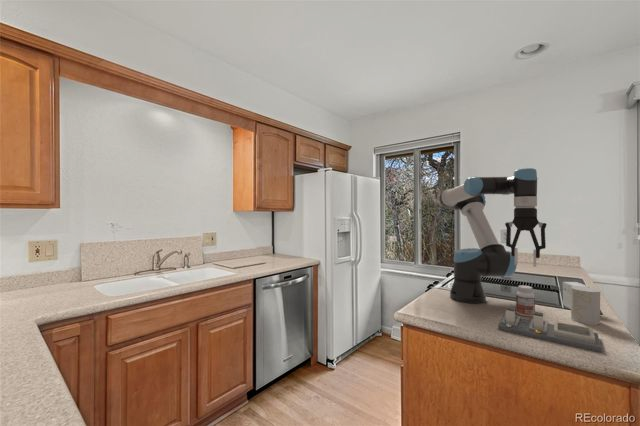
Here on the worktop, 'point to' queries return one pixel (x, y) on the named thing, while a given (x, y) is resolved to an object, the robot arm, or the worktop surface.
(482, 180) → the robot arm
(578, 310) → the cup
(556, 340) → the panel
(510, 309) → the toggle
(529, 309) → the pill bottle
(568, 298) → the small box
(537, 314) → the toggle
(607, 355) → the worktop surface
